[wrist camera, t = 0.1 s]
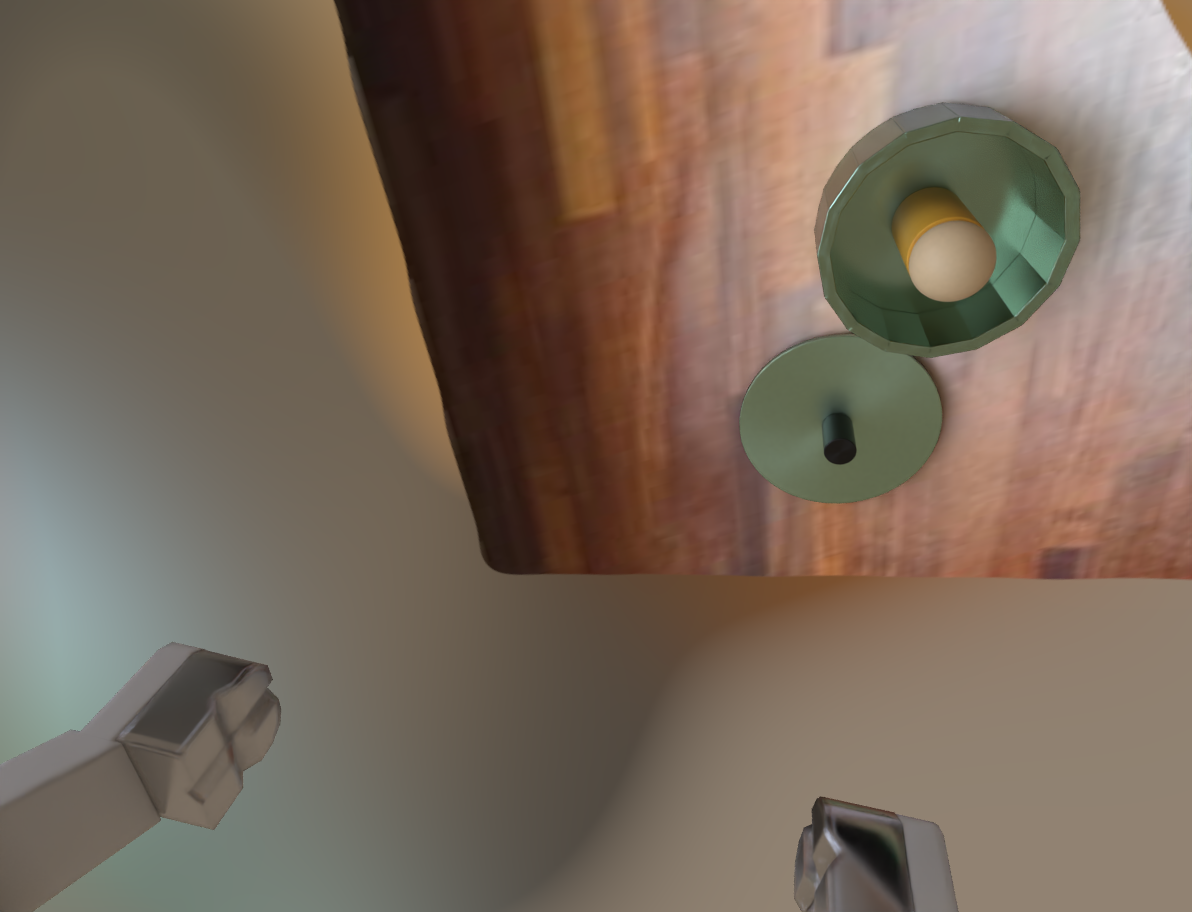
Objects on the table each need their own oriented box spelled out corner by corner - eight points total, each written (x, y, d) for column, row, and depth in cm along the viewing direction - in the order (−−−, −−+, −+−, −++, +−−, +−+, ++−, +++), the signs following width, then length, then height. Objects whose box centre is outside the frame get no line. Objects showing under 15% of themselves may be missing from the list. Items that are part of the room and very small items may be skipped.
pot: (845, 92, 46) (853, 105, 41) (1087, 115, 44) (1128, 133, 39) (795, 304, 54) (796, 338, 49) (997, 333, 52) (1021, 372, 47)
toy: (902, 183, 48) (929, 228, 39) (974, 191, 47) (1019, 239, 38) (883, 250, 51) (904, 307, 42) (950, 259, 50) (987, 319, 41)
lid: (759, 317, 56) (757, 343, 51) (969, 347, 53) (984, 377, 49) (726, 478, 64) (721, 512, 60) (905, 510, 62) (913, 548, 58)
